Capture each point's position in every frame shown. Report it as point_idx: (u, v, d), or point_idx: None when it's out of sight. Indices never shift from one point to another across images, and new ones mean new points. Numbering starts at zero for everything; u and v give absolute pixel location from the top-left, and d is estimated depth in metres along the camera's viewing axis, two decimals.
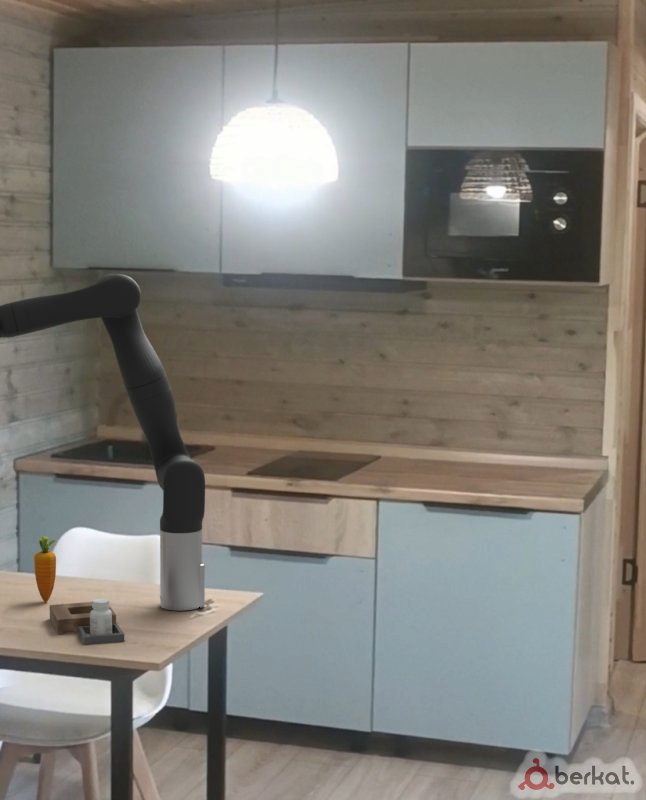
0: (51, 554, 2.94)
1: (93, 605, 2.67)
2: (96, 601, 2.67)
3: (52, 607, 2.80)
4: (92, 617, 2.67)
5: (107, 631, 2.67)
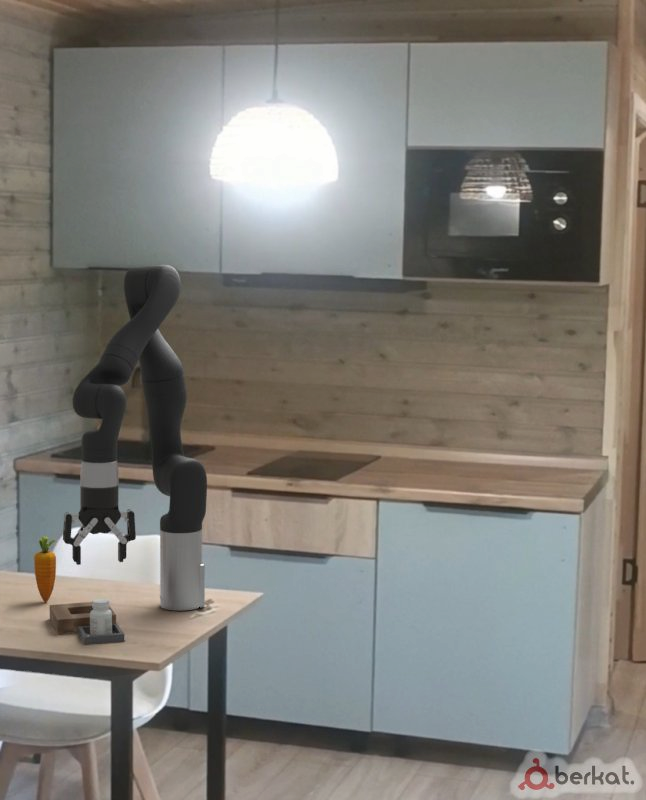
0: (51, 554, 2.94)
1: (93, 605, 2.67)
2: (96, 601, 2.67)
3: (52, 607, 2.80)
4: (92, 617, 2.67)
5: (107, 631, 2.67)
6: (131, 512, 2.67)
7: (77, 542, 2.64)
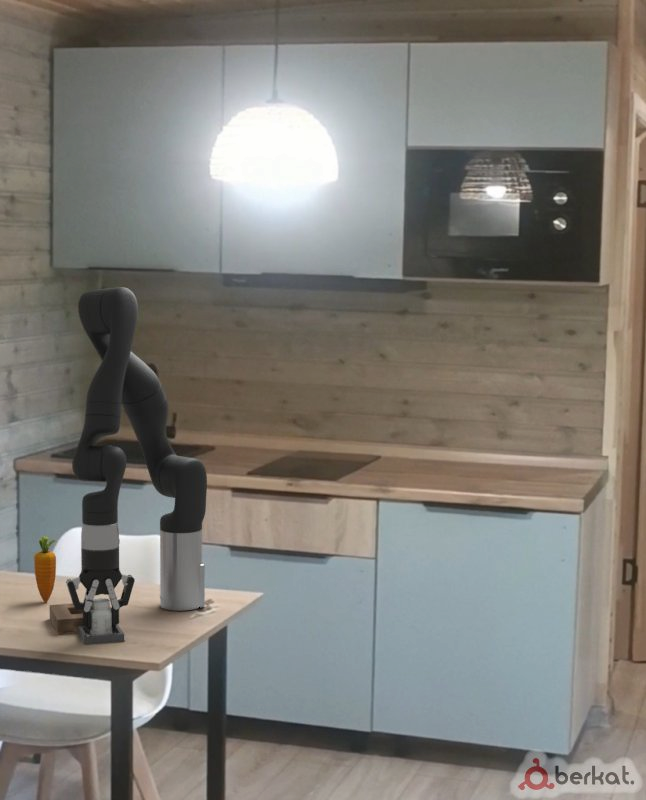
0: (51, 554, 2.94)
1: (93, 605, 2.67)
2: (96, 601, 2.67)
3: (52, 607, 2.80)
4: (92, 617, 2.67)
5: (107, 631, 2.67)
6: (132, 578, 2.69)
7: (87, 607, 2.66)
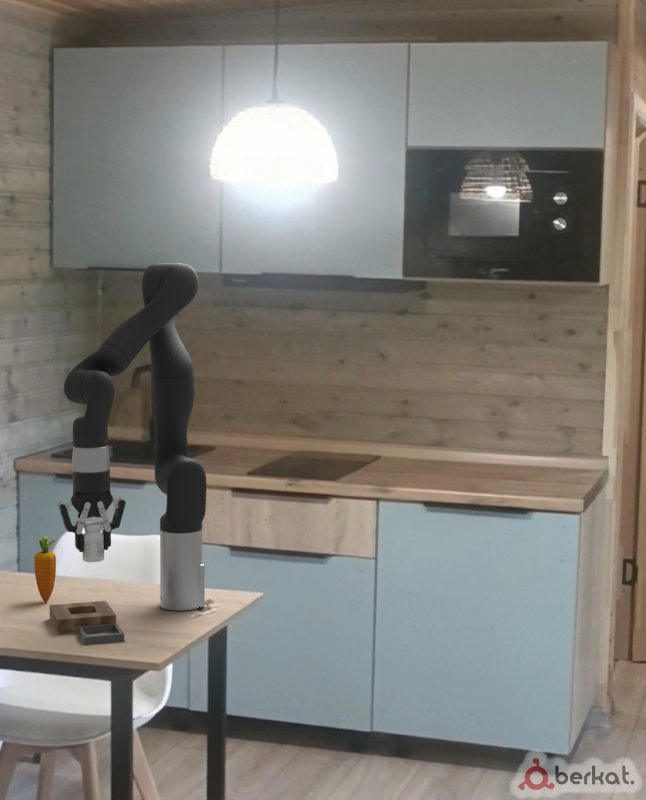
0: (51, 554, 2.94)
1: (85, 528, 2.70)
2: (88, 524, 2.71)
3: (52, 607, 2.80)
4: (84, 539, 2.70)
5: (99, 553, 2.71)
6: (123, 501, 2.72)
7: (79, 530, 2.70)
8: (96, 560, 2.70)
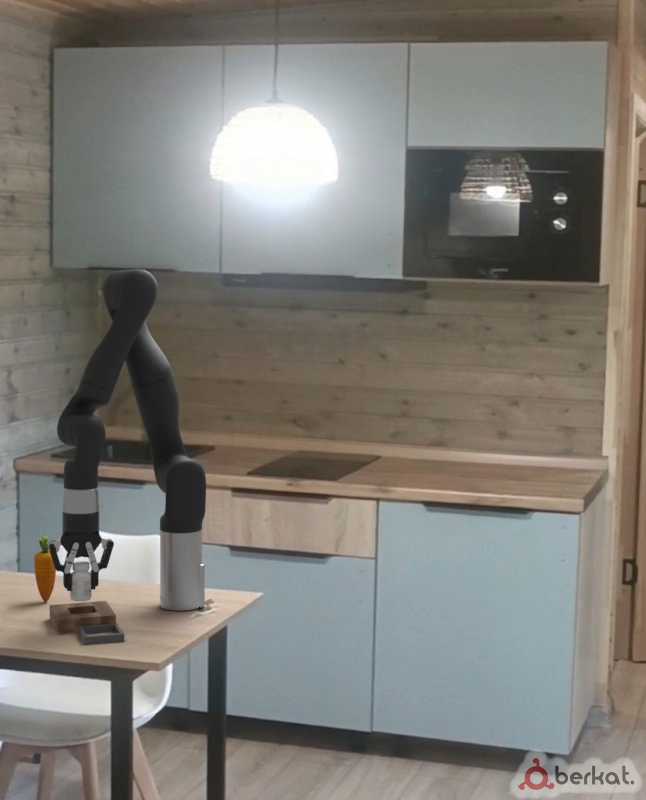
0: None
1: (73, 567, 2.76)
2: (76, 563, 2.77)
3: (52, 607, 2.80)
4: (72, 578, 2.76)
5: (86, 592, 2.77)
6: (111, 542, 2.78)
7: (68, 569, 2.75)
8: (83, 599, 2.76)
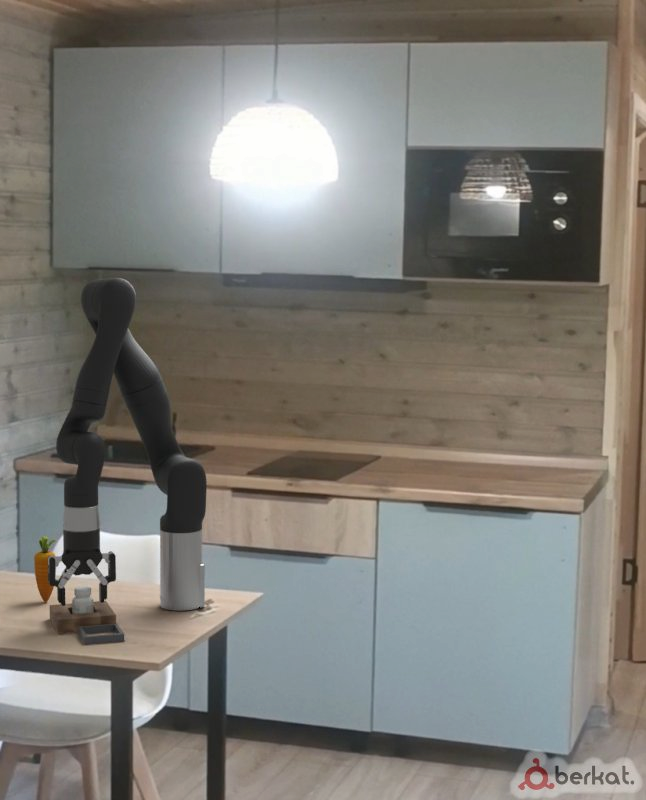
0: (51, 554, 2.94)
1: (75, 592, 2.77)
2: (78, 588, 2.77)
3: (52, 607, 2.80)
4: (74, 604, 2.77)
5: None
6: (112, 554, 2.78)
7: (61, 584, 2.75)
8: None
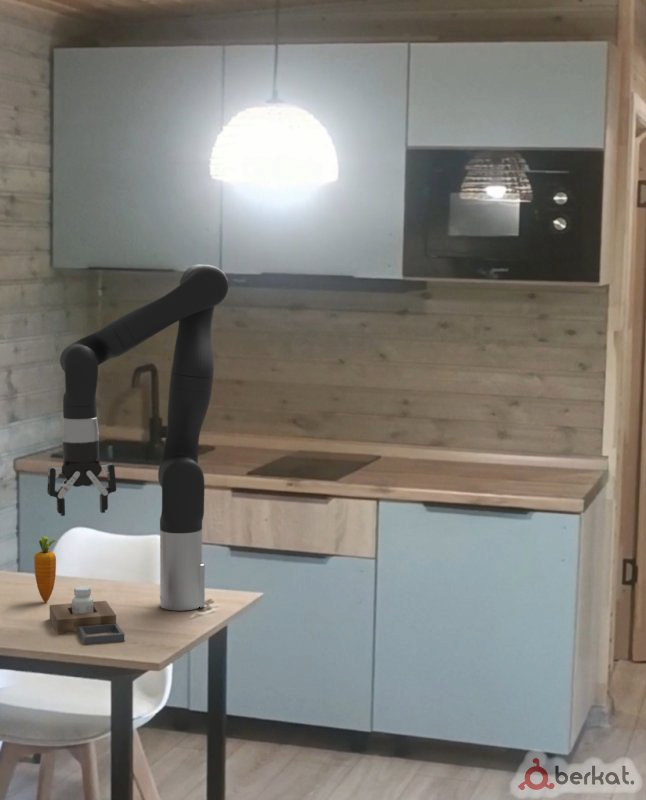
0: (51, 554, 2.94)
1: (75, 592, 2.77)
2: (78, 589, 2.77)
3: (52, 607, 2.80)
4: (74, 604, 2.77)
5: None
6: (111, 465, 2.84)
7: (61, 494, 2.80)
8: None
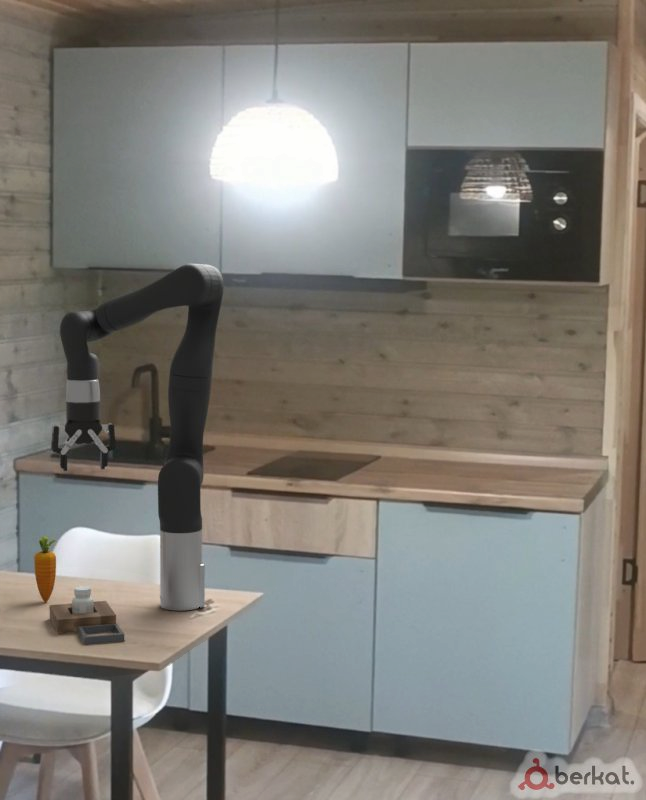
0: (51, 554, 2.94)
1: (75, 592, 2.77)
2: (78, 589, 2.77)
3: (52, 607, 2.80)
4: (74, 604, 2.77)
5: None
6: (111, 425, 3.03)
7: (64, 451, 3.00)
8: None
